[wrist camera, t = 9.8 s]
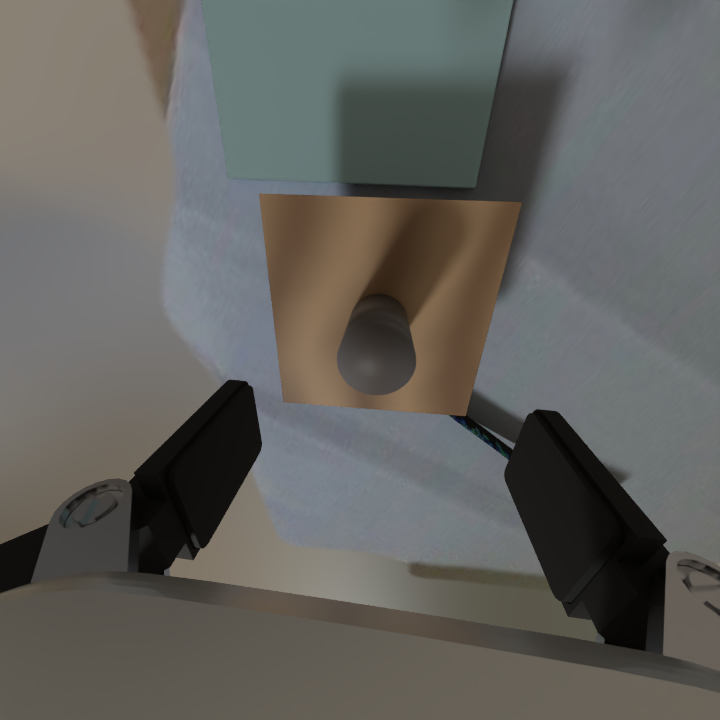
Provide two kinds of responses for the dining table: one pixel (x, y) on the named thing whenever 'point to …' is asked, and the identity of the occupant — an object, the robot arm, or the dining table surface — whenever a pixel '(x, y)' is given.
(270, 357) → the dining table surface
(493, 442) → the knife
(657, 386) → the dining table surface
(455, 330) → the lid
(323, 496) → the dining table surface
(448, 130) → the mat
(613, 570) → the robot arm
